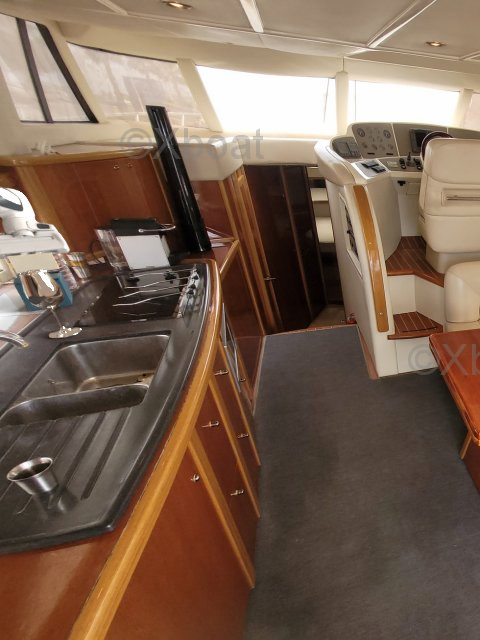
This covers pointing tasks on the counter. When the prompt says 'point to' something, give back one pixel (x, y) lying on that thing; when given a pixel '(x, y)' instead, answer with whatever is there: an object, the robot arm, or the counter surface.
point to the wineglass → (46, 297)
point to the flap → (33, 262)
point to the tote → (59, 280)
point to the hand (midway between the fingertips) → (35, 264)
